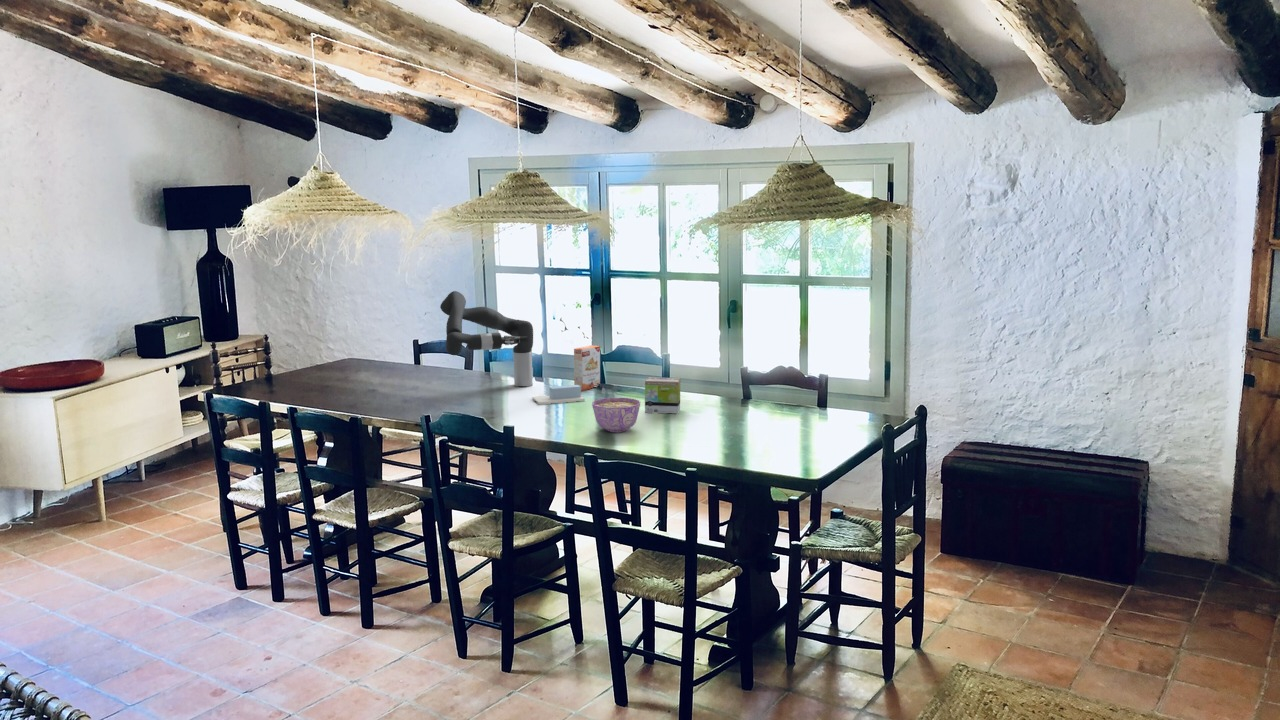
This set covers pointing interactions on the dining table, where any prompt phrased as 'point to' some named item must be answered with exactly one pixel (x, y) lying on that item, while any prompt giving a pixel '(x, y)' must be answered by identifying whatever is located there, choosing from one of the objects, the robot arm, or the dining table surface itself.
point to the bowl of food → (616, 413)
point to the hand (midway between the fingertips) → (527, 339)
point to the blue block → (565, 391)
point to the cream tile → (555, 400)
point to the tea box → (662, 395)
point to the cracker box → (587, 366)
